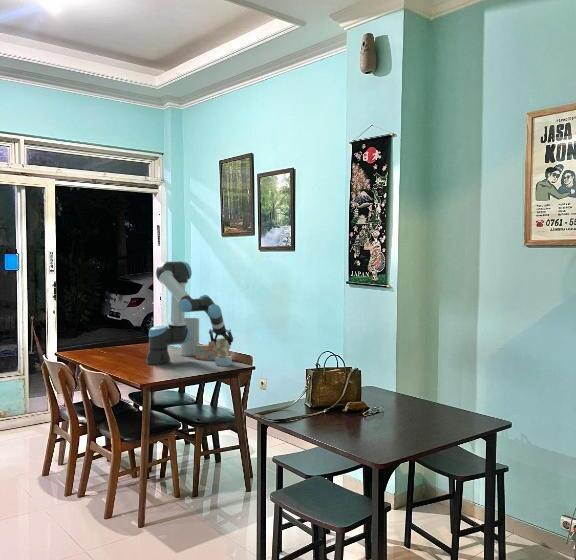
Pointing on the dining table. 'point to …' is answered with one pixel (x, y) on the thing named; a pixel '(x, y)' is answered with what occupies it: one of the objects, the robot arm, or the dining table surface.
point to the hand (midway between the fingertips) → (224, 347)
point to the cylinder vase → (191, 337)
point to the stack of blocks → (208, 351)
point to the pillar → (222, 347)
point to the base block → (223, 361)
